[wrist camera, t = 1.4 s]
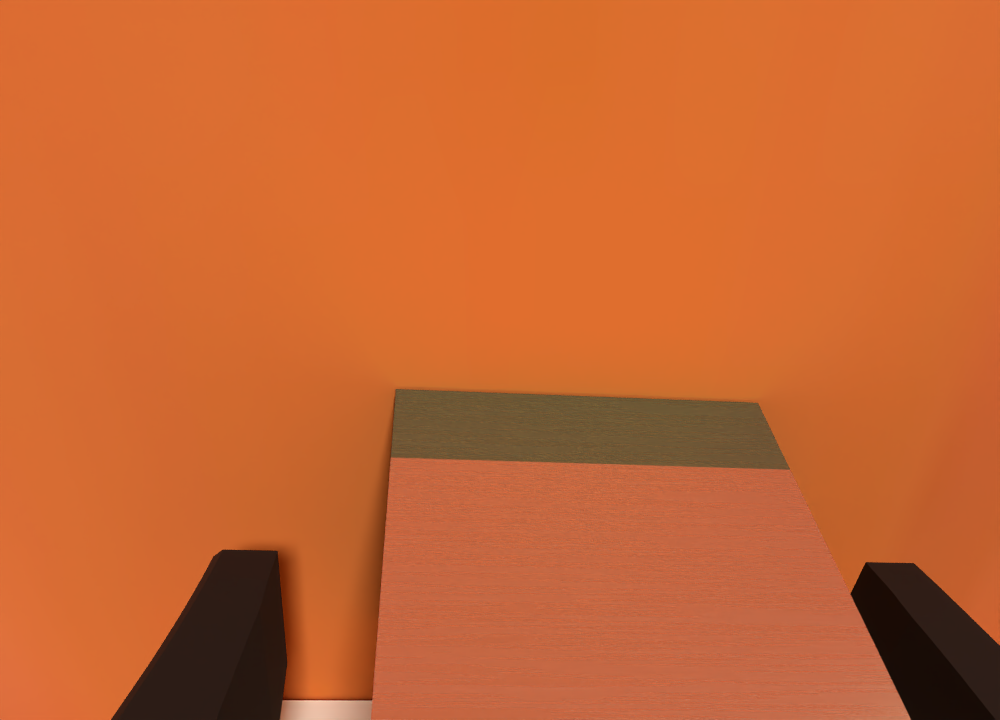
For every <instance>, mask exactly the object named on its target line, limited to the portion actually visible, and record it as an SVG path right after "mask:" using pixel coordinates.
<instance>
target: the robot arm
mask: <svg viewBox="0 0 1000 720" xmlns="http://www.w3.org/2000/svg"><path fill="white" fill-rule="evenodd" d="M850 595H851V597H852V599H853V601H854V603H855V605H856V607H857V609H858V611H859V613H860V615H861V617H862V619H863V621H864V624H865V626H866V628H867V630H868V632H869V634H870V636H871V638H872V640H873V642H874V644H875V646H876V648H877V650H878V652H879V655H880V657H881V659H882V661H883V663H884V665H885V667H886V669H887V671H888V673H889V675H890V677H891V679H892V681H893V683H894V686H895V688H896V690H897V692H898V694H899V696H900V698H901V700H902V702H903V704H904V706H905V708H906V710H907V712H908V714H909V717H910V719H911V720H1000V646H999V645H998V644H997V643H996V642H995V641H994V640H993V639H992V638H991V637H990V636H989V635H988V634H987V633H986V632H985V631H984V630H983V629H982V628H981V627H980V626H979V625H978V624H977V623H976V622H975V621H974V620H973V619H972V618H971V617H970V616H969V615H968V614H967V613H966V612H965V611H964V610H963V609H962V608H960V607H959V606H958V605H957V604H956V603H955V602H954V601H953V600H952V599H951V598H950V597H949V596H948V595H947V594H946V593H945V592H944V591H943V590H942V589H941V588H940V587H939V586H938V585H937V584H936V583H934V582H933V581H932V580H931V579H930V578H929V577H928V576H927V575H926V574H925V573H924V572H923V571H922V570H920V569H919V568H918V567H917V566H916V565H915V564H914V563H873V562H866V563H865V565H864V567H863V569H862V571H861V573H860V575H859V578H858V580H857V582H856V584H855V586H854V588H853V590H852V592H851V594H850ZM286 668H287V654H286V643H285V631H284V620H283V609H282V597H281V586H280V574H279V563H278V551H260V550H222V551H220V552H219V553H218V554H216V555H215V556H214V557H213V558H212V560H211V562H210V564H209V566H208V568H207V570H206V572H205V573H204V575H203V577H202V579H201V581H200V582H199V584H198V586H197V588H196V589H195V591H194V593H193V595H192V596H191V598H190V600H189V601H188V603H187V605H186V606H185V608H184V610H183V611H182V613H181V615H180V616H179V618H178V620H177V621H176V623H175V625H174V626H173V628H172V629H171V631H170V632H169V634H168V636H167V637H166V639H165V640H164V642H163V643H162V645H161V647H160V648H159V650H158V651H157V653H156V654H155V656H154V658H153V659H152V661H151V662H150V664H149V665H148V667H147V668H146V670H145V671H144V672H143V674H142V675H141V677H140V678H139V680H138V681H137V683H136V684H135V686H134V687H133V689H132V690H131V691H130V693H129V694H128V696H127V697H126V699H125V700H124V702H123V703H122V705H121V706H120V707H119V709H118V710H117V712H116V713H115V715H114V716H113V718H112V719H111V720H280V715H281V708H282V700H283V692H284V684H285V676H286Z"/></svg>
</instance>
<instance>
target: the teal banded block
mask: <svg viewBox="0 0 1000 720" xmlns="http://www.w3.org/2000/svg"><path fill="white" fill-rule="evenodd" d="M371 720H911V719H910V717H909V714H908V712H907V710H906V708H905V706H904V704H903V702H902V700H901V698H900V696H899V694H898V692H897V690H896V688H895V686H894V683H893V681H892V679H891V677H890V675H889V673H888V671H887V669H886V667H885V665H884V663H883V661H882V659H881V657H880V655H879V652H878V650H877V648H876V646H875V644H874V642H873V640H872V638H871V636H870V634H869V632H868V630H867V628H866V626H865V624H864V621H863V619H862V617H861V615H860V613H859V611H858V609H857V607H856V605H855V603H854V601H853V599H852V597H851V595H850V593H849V590H848V588H847V586H846V584H845V582H844V580H843V578H842V576H841V574H840V572H839V570H838V568H837V566H836V564H835V561H834V559H833V557H832V555H831V553H830V551H829V549H828V547H827V545H826V543H825V541H824V539H823V537H822V535H821V533H820V530H819V528H818V526H817V524H816V522H815V520H814V518H813V516H812V514H811V512H810V510H809V508H808V506H807V504H806V502H805V499H804V497H803V495H802V493H801V491H800V489H799V487H798V485H797V483H796V481H795V479H794V477H793V475H792V473H791V471H790V468H789V466H788V464H787V462H786V460H785V458H784V456H783V454H782V452H781V450H780V448H779V446H778V444H777V442H776V440H775V437H774V435H773V433H772V431H771V429H770V427H769V425H768V423H767V421H766V419H765V417H764V415H763V413H762V411H761V409H760V406H759V404H758V403H746V402H719V401H693V400H666V399H640V398H614V397H587V396H561V395H534V394H508V393H482V392H455V391H429V390H403V389H396V396H395V409H394V422H393V436H392V449H391V462H390V475H389V488H388V501H387V515H386V528H385V541H384V554H383V567H382V580H381V594H380V607H379V620H378V633H377V646H376V659H375V673H374V686H373V699H372V712H371Z"/></svg>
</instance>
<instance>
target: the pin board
mask: <svg viewBox="0 0 1000 720" xmlns="http://www.w3.org/2000/svg"><path fill="white" fill-rule="evenodd" d="M371 712H372V701H363V700H282V708H281V715H280V720H371Z"/></svg>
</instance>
